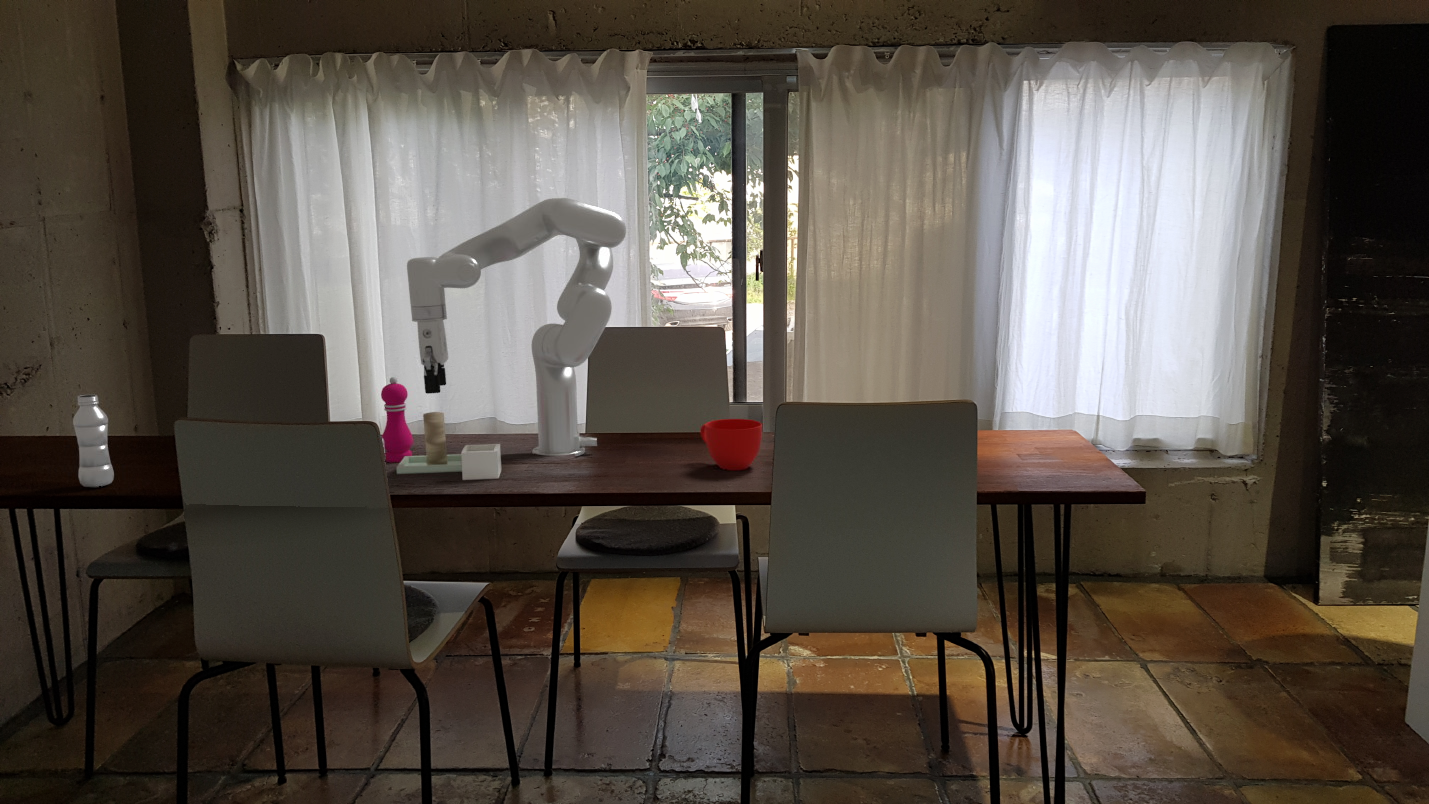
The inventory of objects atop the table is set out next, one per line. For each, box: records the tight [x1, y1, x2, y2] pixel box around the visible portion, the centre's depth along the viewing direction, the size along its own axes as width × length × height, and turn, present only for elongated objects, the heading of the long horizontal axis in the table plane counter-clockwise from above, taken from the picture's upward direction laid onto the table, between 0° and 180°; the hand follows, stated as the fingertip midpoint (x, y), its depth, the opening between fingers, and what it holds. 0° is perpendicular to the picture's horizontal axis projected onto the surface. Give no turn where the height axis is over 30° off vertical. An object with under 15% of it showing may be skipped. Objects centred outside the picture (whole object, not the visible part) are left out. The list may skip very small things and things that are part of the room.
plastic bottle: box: [72, 394, 115, 488], centre depth 226 cm, size 6×7×20 cm
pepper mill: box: [380, 376, 414, 463], centre depth 249 cm, size 7×7×20 cm
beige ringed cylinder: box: [422, 411, 448, 465], centre depth 237 cm, size 4×4×12 cm
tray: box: [396, 453, 462, 475], centre depth 238 cm, size 16×11×2 cm
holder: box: [460, 443, 502, 481], centre depth 230 cm, size 8×8×7 cm
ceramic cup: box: [700, 418, 763, 471], centre depth 240 cm, size 13×17×10 cm
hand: (436, 389), depth 236 cm, fingers open, 9 cm apart
